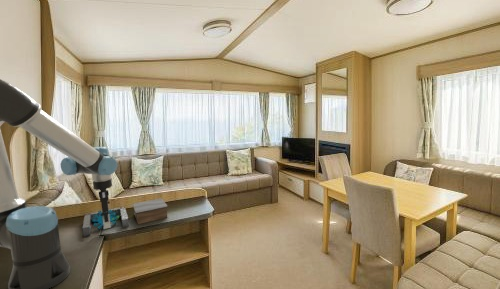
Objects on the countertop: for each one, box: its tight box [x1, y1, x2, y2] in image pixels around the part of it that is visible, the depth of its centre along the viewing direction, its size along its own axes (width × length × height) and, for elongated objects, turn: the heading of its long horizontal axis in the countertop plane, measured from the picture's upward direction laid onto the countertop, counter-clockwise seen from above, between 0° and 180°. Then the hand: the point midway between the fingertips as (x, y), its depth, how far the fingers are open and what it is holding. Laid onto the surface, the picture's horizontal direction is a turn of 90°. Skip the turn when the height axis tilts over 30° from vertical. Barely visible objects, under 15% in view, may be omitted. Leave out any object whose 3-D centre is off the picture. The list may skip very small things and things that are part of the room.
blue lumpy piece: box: [91, 209, 120, 230], centre depth 117 cm, size 11×6×10 cm
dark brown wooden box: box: [132, 197, 169, 225], centre depth 127 cm, size 15×15×6 cm
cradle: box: [82, 206, 130, 238], centre depth 119 cm, size 18×18×4 cm
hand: (107, 222), depth 116 cm, fingers open, 13 cm apart
